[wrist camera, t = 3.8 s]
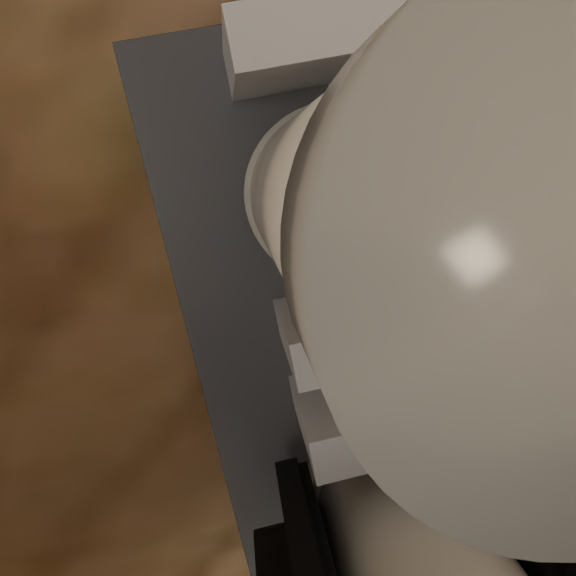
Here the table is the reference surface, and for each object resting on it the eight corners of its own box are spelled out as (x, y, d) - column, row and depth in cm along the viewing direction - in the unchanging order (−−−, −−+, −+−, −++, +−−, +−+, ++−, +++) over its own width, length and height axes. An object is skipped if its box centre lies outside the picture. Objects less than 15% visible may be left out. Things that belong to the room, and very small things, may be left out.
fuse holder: (431, 8, 11) (561, -94, 7) (491, 671, 16) (582, 842, 12) (128, 60, 10) (61, -15, 6) (297, 727, 16) (322, 925, 12)
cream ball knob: (388, 94, 10) (1040, -206, 2) (407, 253, 11) (902, 480, 3) (226, 124, 9) (232, -87, 2) (260, 284, 10) (362, 628, 3)
